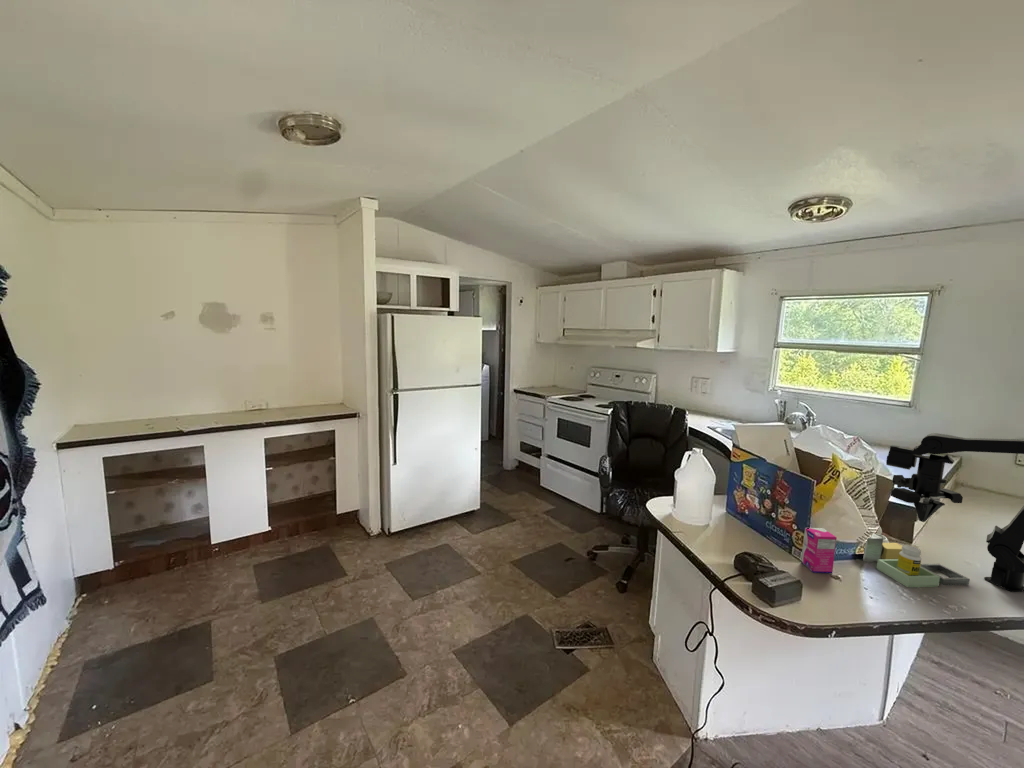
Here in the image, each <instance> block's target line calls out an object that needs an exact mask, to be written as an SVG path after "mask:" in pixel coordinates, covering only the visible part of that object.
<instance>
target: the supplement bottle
mask: <svg viewBox="0 0 1024 768" xmlns="http://www.w3.org/2000/svg"><path fill="white" fill-rule="evenodd" d="M921 552H922V551H921V549H919V548H918V547H915V546H912V545H908V544H904V545H902V551H901V552H900V553H899V558H898V564H897V569H898V570H900V571H901V572H903V573H905V574H907V575H908V576H919V570H920V564H922V558H921V555H922V553H921Z"/></svg>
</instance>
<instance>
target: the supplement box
mask: <svg viewBox="0 0 1024 768" xmlns="http://www.w3.org/2000/svg"><path fill="white" fill-rule="evenodd" d="M807 528H809V529H807ZM802 543H803V544H802V551H801V558H802V559H801V561H802V563H801V564H803V565H804V566H805V565H806V566H807V567H808V568H807V567H806V566H805V567H806V568H807V569H809V571H811V572H812V573H813V574H829V573H832V574H833V569H834V561H835V555H836V545H837V536H835V535H834V534H832V533H831V532H830V531H828V530H826V529H825V528H824V527H822V528H821V527H804V533H803V542H802ZM801 561H800V562H801Z"/></svg>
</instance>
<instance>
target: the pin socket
mask: <svg viewBox="0 0 1024 768" xmlns="http://www.w3.org/2000/svg"><path fill="white" fill-rule="evenodd" d="M920 567H922V568H924V569H926V570H928V571H930V572H932V573H934V574H935V575H937V576H939V577H940V580H939V584H940V585H942V586H969V585H970V581H971V580H970V578H968V577H966V576H965V575H962V574H960V573H959V572H957V571H955V570H952V569H951V568H949V567H947V566H945V565H943V564H940V563H921V564H920ZM934 571H936V572H937V571H938V572H940V573H943V574H944V575H946V576H948V577H943V576H941V575H939V574H937V573H935V572H934Z"/></svg>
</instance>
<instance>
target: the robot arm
mask: <svg viewBox="0 0 1024 768" xmlns="http://www.w3.org/2000/svg"><path fill="white" fill-rule="evenodd" d="M962 452H971V453H972V452H973V453H994V454H995V453H996V454H1017V455H1019V454H1021V455H1024V438H1022V439H1020V438H1019V439H1017V438H1015V439H1014V438H985V437H984V438H981V437H977V438H976V437H961V436H956V435H950V434H945V433H937V432H935V433H934V432H933V433H929V434H927V435H925V436H924V437H923V438H922V440H921V441H920V444H919V445H916V446H915V447H914V448H913V449H912V448H909V447H902V446H898V445H895V444H894V445H893V444H892V445H890V447H889V450H888V455H887V456H886V466H890V467H894V468H899V469H904V470H911V469H912V468H914V469H915V468H916V465H917V470H916V473H912V474H911V477H904V475H903V474H893V475H892V484H893V485H895V486H897V487H894V488H892V489H891V490H890V497H892V498H895V499H897V500H900V501H903V502H905V503H908V504H913V506H914V507H915V511H916V513H917V517H918V521H919V522H922V523H925V522H927V520H929V519H930V518H931V517H932V515H934V514H935V513H936V512H937V511H938V510H939V509H940V508H942V507H943V506H945V505H946V503H944V502H941V499H949V500H950V502H951V503H954V504H962V503H963V498H964V497H963V496H962V494H961V493H960V492H957V491H954V490H951V489H948V488H945V487H944V488H941V487H942V484H946V483H947V479H944V478H943V476H944V469H945V465H946V464H951V465H953V464H954V462H955V460H954V459H953V458H952V457H951V456H950V455H949V454H954V453H962ZM926 454H930V455H926ZM943 454H945V455H943ZM917 460H918V462H917ZM917 463H918V464H917ZM985 542H986V543H987V547H986V548H987V552H988V554H990V555H991V556H992V557H993V558H994V559H995V561H993V566H992V568H991V575H990V576H984V577H983V579H985V580H986V581H988V582H990V583H992V584H994V585H997V586H999V587H1000V588H1002V589H1004V590H1006V591H1007V592H1008V591H1009V592H1013V593H1014V592H1016V593H1017V592H1019V591H1020V592H1024V553H1023V552H1022V551H1021V550H1022V548H1023V544H1024V505H1022V508H1020V509H1019V511H1018V512H1017V513H1016V515H1015V516H1014V517H1013V518H1012V519H1011V520H1010V522H1009V523H1008V524H1007V525H1006V526H1004V527H999V526H998V525H995V526H994V528H993V529H992V531H991V533H989V534H987V536H986V541H985Z"/></svg>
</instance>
